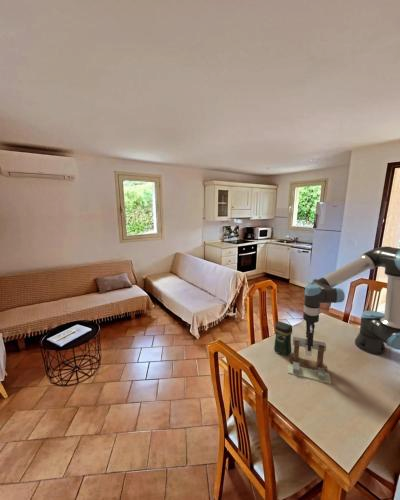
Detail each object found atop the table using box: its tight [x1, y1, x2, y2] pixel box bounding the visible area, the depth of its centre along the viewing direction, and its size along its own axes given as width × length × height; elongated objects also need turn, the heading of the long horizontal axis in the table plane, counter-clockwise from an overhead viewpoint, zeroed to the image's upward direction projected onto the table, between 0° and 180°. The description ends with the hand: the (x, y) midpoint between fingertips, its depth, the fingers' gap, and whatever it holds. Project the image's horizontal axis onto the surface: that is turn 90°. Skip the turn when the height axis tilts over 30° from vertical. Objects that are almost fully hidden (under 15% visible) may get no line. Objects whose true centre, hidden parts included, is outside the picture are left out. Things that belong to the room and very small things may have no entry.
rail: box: [292, 336, 327, 352], centre depth 121 cm, size 16×3×3 cm, turn 68°
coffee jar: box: [273, 320, 293, 357], centre depth 133 cm, size 10×8×19 cm
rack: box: [289, 342, 327, 372], centre depth 122 cm, size 18×6×13 cm, turn 68°
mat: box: [287, 362, 332, 385], centre depth 116 cm, size 20×7×3 cm, turn 68°
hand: (308, 352), depth 122 cm, fingers open, 5 cm apart
